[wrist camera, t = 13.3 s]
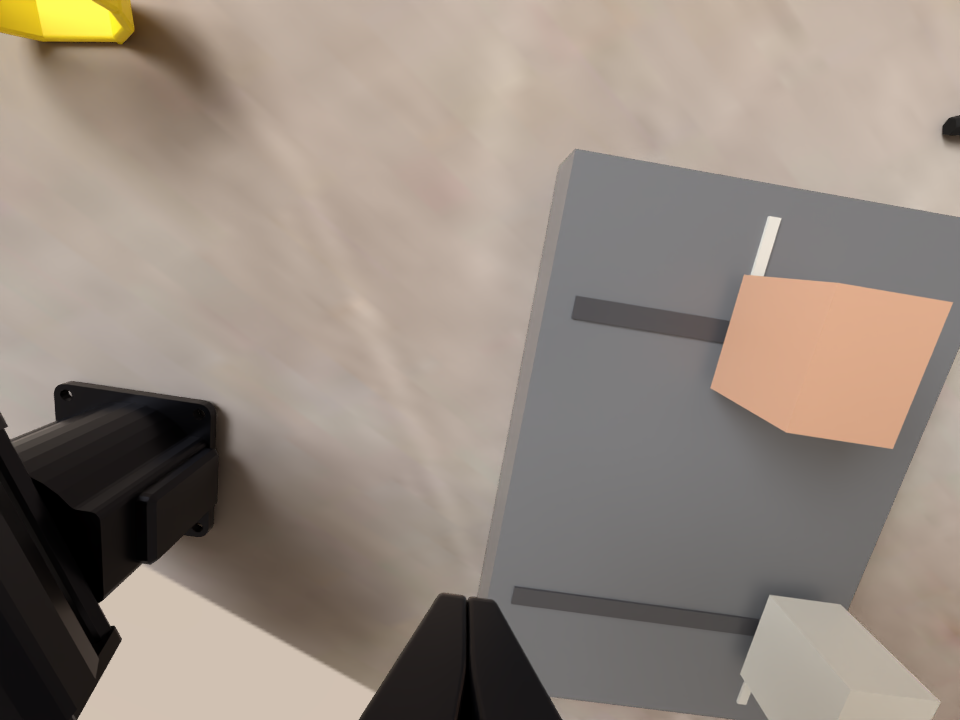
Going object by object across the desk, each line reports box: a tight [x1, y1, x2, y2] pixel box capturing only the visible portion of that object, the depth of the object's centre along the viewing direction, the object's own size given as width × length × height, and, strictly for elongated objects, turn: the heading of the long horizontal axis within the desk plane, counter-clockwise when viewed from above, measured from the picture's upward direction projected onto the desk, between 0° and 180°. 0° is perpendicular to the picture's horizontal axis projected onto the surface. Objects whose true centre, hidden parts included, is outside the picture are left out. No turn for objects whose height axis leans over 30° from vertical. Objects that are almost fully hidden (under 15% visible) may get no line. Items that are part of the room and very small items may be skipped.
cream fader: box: [740, 595, 941, 720], centre depth 16 cm, size 3×4×4 cm
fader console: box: [477, 149, 960, 720], centre depth 19 cm, size 15×22×3 cm
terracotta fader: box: [710, 275, 953, 449], centre depth 13 cm, size 3×4×4 cm
